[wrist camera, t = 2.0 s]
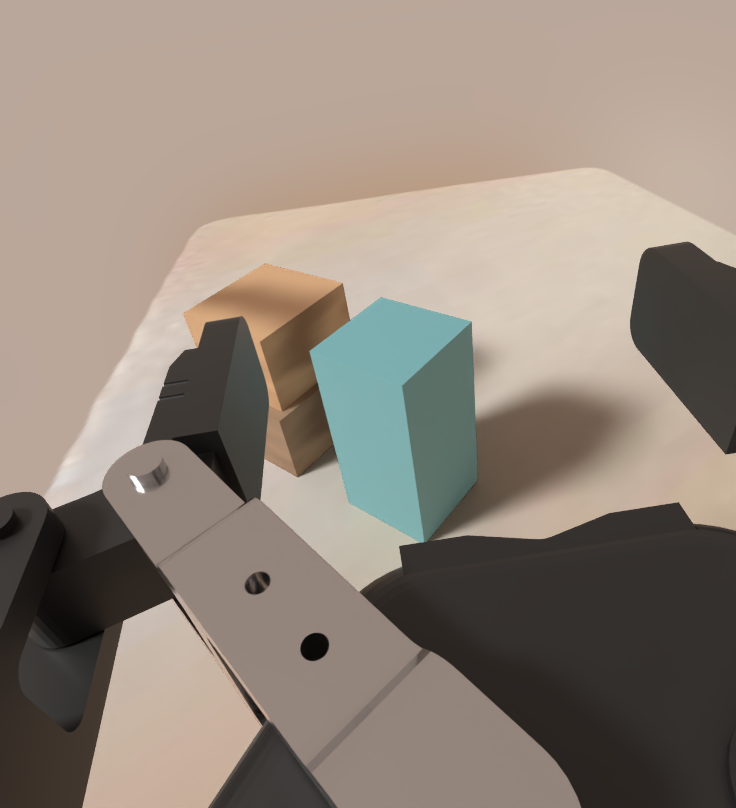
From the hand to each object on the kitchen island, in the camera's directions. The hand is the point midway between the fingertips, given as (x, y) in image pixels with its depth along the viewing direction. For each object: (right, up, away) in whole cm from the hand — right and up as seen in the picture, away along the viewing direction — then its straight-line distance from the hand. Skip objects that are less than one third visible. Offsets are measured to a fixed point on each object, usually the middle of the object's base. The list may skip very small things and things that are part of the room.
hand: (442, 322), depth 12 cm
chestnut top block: (-7, +1, +26) cm, 27 cm away
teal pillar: (+1, -7, +22) cm, 23 cm away
